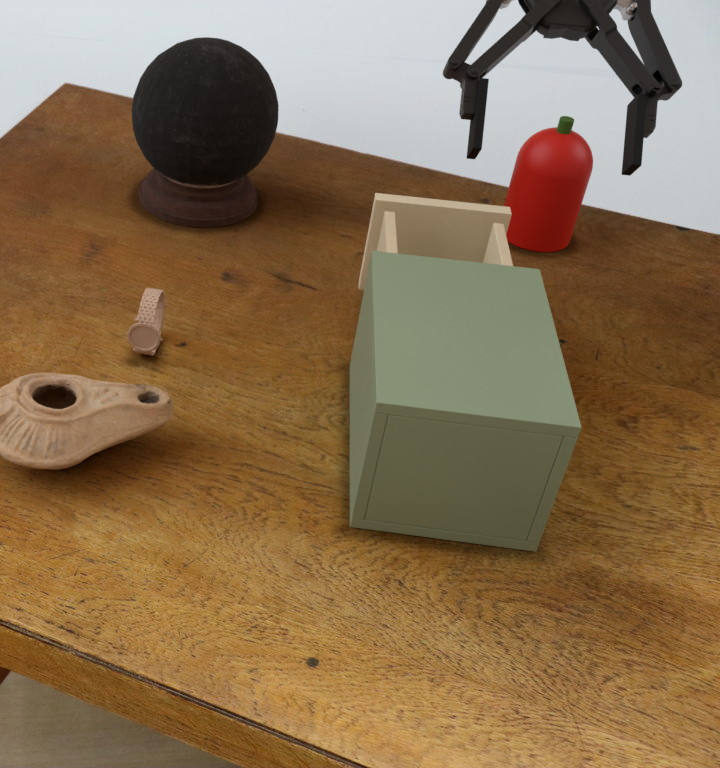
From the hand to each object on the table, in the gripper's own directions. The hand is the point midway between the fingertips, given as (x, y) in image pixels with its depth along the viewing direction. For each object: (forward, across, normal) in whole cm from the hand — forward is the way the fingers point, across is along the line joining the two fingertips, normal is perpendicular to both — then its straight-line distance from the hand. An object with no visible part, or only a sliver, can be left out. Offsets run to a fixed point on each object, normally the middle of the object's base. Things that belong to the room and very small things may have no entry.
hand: (552, 162), depth 98 cm
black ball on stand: (+6, -31, +5) cm, 32 cm away
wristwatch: (+23, -32, -13) cm, 41 cm away
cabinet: (+29, -11, -19) cm, 36 cm away
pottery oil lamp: (+32, -35, -22) cm, 53 cm away
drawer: (+18, -11, -10) cm, 23 cm away
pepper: (+5, 0, +4) cm, 7 cm away
